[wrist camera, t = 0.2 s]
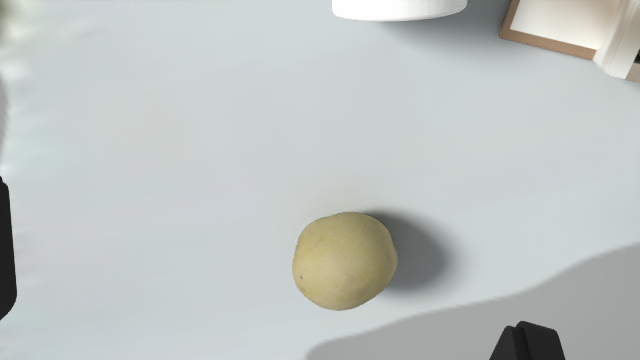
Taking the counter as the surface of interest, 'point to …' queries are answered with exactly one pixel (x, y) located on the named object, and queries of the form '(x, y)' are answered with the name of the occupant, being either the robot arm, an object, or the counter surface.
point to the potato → (344, 260)
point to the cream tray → (581, 31)
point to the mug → (395, 9)
